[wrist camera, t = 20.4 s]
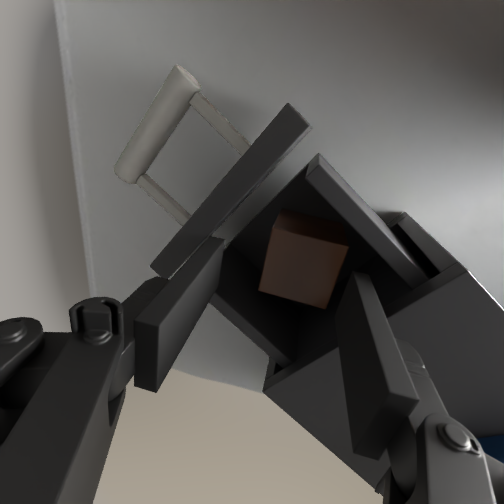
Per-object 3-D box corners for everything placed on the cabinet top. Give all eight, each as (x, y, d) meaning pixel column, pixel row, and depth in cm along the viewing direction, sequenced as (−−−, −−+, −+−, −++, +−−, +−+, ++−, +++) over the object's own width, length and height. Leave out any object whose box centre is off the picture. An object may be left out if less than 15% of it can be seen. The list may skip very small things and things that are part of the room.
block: (268, 261, 20) (257, 291, 16) (281, 207, 18) (271, 227, 14) (324, 276, 19) (325, 310, 15) (343, 222, 17) (349, 246, 14)
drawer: (148, 180, 20) (75, 201, 14) (239, 48, 16) (189, -4, 10) (294, 317, 22) (286, 387, 16) (412, 234, 18) (461, 288, 12)
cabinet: (280, 305, 23) (261, 391, 15) (404, 211, 18) (468, 270, 10) (371, 390, 25) (396, 508, 17) (509, 325, 20) (633, 450, 12)
